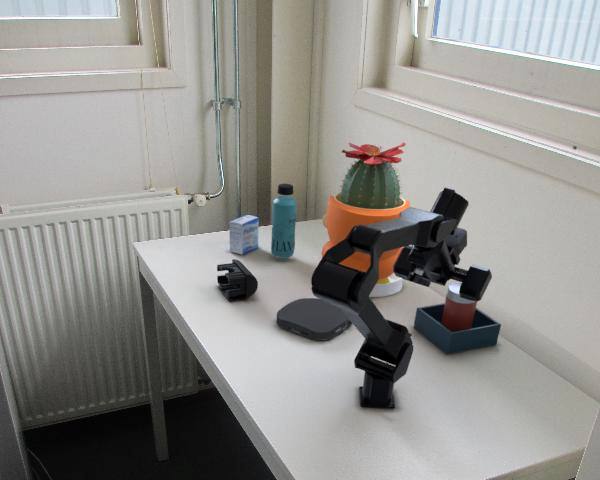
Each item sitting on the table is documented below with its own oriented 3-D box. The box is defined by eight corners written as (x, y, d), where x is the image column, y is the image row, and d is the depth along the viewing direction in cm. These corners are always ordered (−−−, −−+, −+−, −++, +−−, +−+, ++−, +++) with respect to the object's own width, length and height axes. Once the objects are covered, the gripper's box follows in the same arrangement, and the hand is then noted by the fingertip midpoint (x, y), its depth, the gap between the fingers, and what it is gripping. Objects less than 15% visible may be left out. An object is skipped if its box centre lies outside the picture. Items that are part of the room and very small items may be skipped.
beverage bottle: (267, 260, 182) (269, 186, 171) (275, 252, 188) (277, 179, 177) (290, 264, 181) (293, 189, 170) (297, 256, 186) (301, 183, 175)
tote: (496, 344, 149) (501, 324, 146) (447, 354, 144) (451, 333, 141) (460, 319, 159) (464, 299, 156) (413, 327, 154) (416, 307, 151)
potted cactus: (317, 268, 180) (327, 130, 161) (400, 272, 181) (420, 135, 161) (319, 302, 162) (330, 152, 143) (411, 307, 163) (435, 158, 143)
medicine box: (242, 255, 185) (242, 224, 180) (229, 251, 187) (228, 221, 182) (258, 247, 190) (259, 217, 186) (245, 243, 192) (246, 213, 188)
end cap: (258, 299, 162) (258, 273, 158) (229, 303, 159) (229, 276, 156) (243, 283, 169) (244, 257, 166) (216, 286, 167) (216, 260, 163)
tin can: (475, 336, 151) (485, 290, 145) (456, 344, 147) (465, 297, 141) (452, 324, 155) (461, 280, 149) (433, 332, 151) (441, 286, 145)
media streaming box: (306, 303, 161) (306, 292, 160) (358, 321, 155) (359, 310, 153) (269, 325, 151) (269, 312, 149) (323, 345, 144) (324, 332, 143)
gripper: (499, 229, 121) (508, 269, 135) (407, 205, 130) (425, 245, 143) (472, 283, 120) (485, 318, 134) (382, 255, 129) (402, 291, 142)
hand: (449, 291), depth 138 cm, fingers open, 9 cm apart
